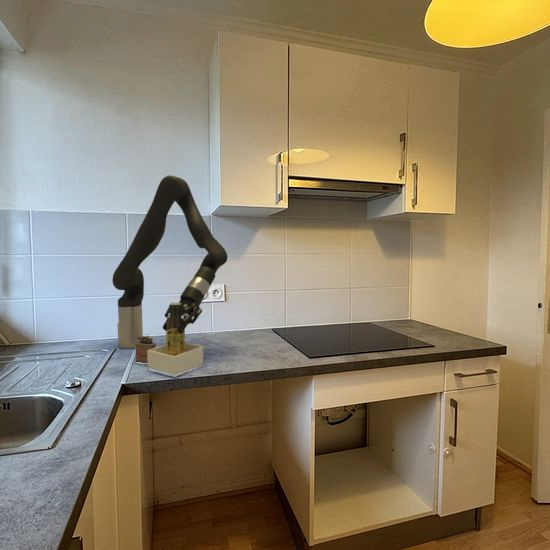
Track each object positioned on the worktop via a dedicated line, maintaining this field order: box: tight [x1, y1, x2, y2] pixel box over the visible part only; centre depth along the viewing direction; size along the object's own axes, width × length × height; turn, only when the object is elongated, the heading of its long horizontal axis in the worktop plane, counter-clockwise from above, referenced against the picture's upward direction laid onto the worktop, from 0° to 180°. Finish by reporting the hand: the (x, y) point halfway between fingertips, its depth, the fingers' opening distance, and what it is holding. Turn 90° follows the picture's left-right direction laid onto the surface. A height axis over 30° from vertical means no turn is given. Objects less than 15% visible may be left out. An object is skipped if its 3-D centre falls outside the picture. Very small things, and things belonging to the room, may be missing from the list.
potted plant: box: [135, 335, 157, 363], centre depth 120 cm, size 8×3×10 cm, turn 74°
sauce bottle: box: [165, 302, 186, 356], centre depth 114 cm, size 6×6×20 cm
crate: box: [147, 342, 204, 375], centre depth 115 cm, size 13×13×7 cm
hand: (171, 330), depth 113 cm, fingers closed on sauce bottle, 6 cm apart
